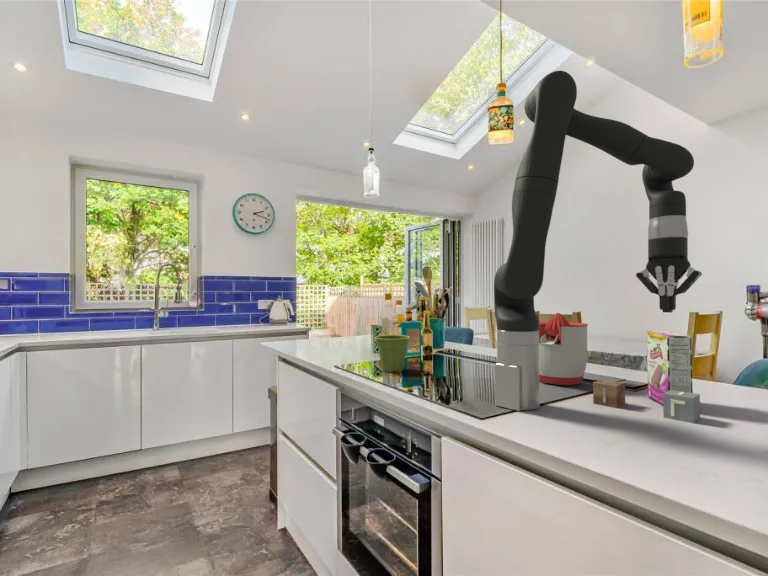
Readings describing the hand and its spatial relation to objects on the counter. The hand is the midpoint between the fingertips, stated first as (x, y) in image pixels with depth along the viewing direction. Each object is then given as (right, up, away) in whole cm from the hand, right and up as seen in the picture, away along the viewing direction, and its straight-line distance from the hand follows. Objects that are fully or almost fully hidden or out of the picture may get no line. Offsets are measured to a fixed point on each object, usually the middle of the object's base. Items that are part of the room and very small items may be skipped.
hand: (667, 312), depth 94 cm
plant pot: (-63, -22, +42) cm, 79 cm away
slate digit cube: (-4, -21, -11) cm, 24 cm away
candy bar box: (0, -21, 0) cm, 21 cm away
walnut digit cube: (-13, -21, 0) cm, 25 cm away
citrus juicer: (-16, -22, +23) cm, 35 cm away
